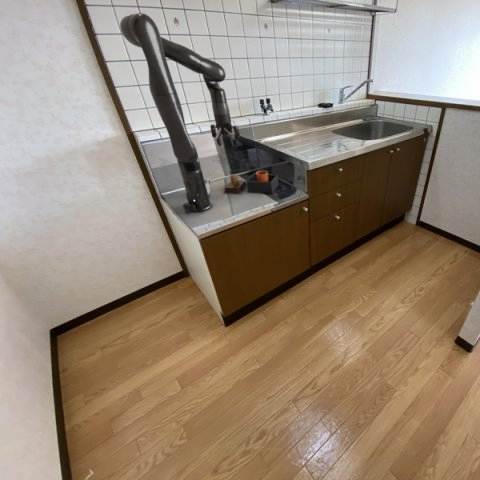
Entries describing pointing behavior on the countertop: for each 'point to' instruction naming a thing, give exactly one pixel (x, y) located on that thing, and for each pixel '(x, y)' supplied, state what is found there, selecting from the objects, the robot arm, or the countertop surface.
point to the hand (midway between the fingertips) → (227, 146)
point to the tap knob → (234, 179)
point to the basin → (262, 184)
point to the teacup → (208, 185)
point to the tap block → (235, 187)
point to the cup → (262, 176)
